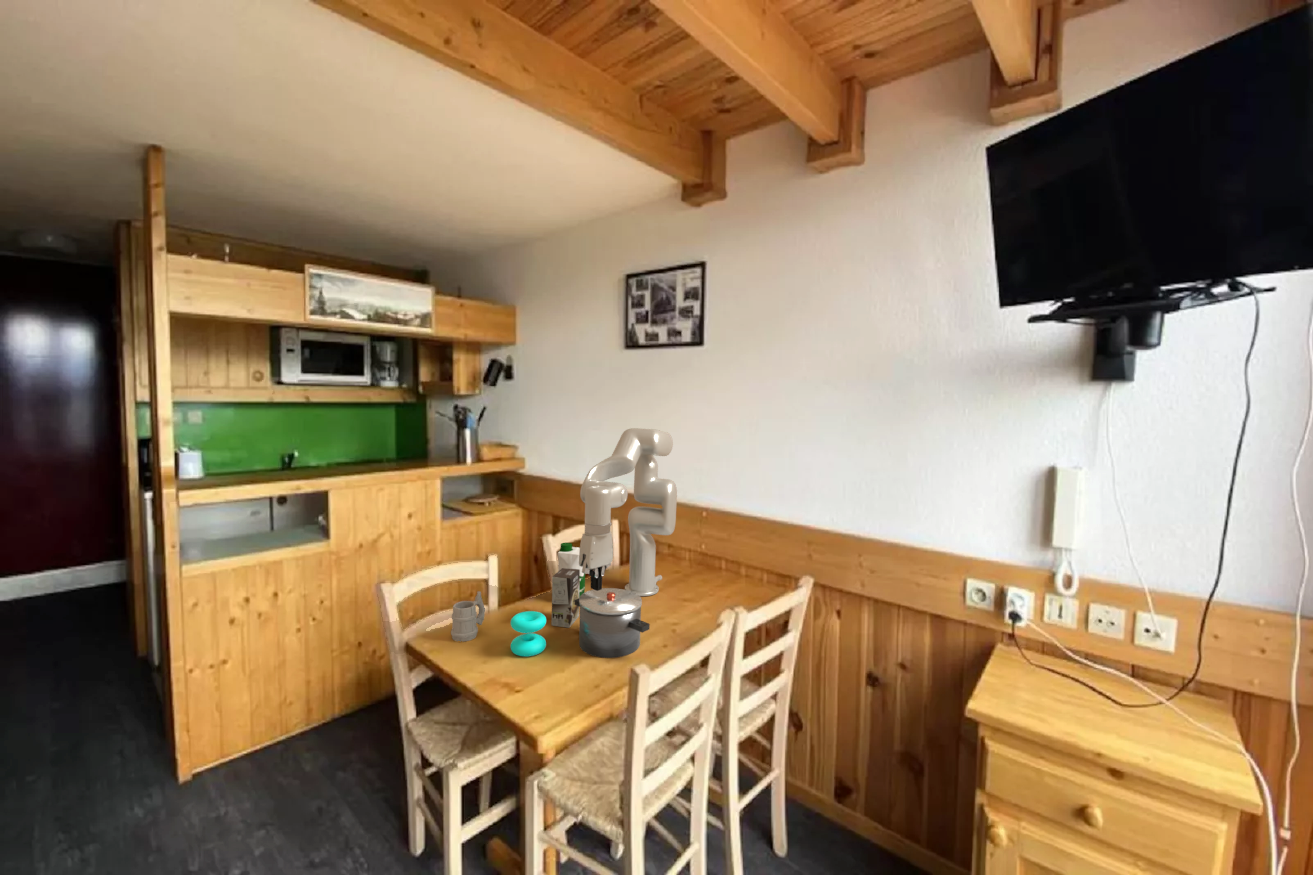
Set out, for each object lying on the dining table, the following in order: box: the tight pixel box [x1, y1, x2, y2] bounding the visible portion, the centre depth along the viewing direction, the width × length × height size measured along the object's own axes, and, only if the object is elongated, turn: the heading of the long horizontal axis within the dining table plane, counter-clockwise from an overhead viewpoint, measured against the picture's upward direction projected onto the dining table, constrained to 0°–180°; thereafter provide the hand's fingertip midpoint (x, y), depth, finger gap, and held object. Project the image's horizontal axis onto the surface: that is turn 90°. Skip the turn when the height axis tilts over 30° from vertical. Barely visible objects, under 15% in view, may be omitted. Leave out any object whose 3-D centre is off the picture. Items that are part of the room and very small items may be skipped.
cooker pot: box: [575, 598, 651, 659], centre depth 166 cm, size 18×28×12 cm, turn 50°
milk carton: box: [557, 542, 586, 598], centre depth 197 cm, size 9×9×20 cm
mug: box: [450, 590, 486, 642], centre depth 169 cm, size 8×12×12 cm, turn 152°
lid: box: [579, 587, 643, 615], centre depth 165 cm, size 18×18×3 cm
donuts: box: [510, 610, 547, 657], centre depth 160 cm, size 10×10×10 cm
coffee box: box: [551, 568, 580, 628], centre depth 180 cm, size 9×6×16 cm
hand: (596, 588), depth 166 cm, fingers closed
